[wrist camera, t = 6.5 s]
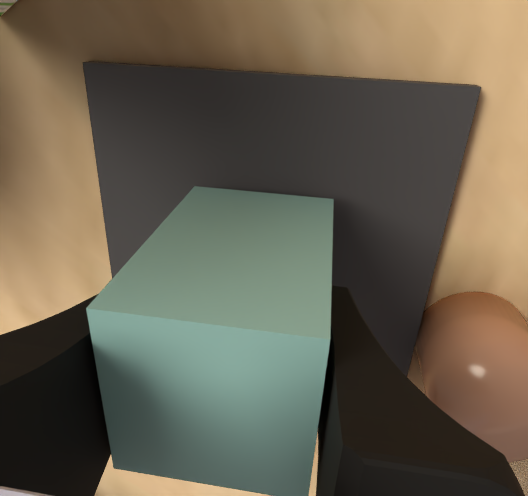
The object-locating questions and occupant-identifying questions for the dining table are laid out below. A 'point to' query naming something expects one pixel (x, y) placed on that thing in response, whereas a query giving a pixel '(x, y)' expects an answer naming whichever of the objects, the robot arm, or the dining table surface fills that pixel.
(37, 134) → the dining table surface
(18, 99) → the dining table surface
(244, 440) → the teal block
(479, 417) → the peach domed capsule
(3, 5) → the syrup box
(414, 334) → the black mat
